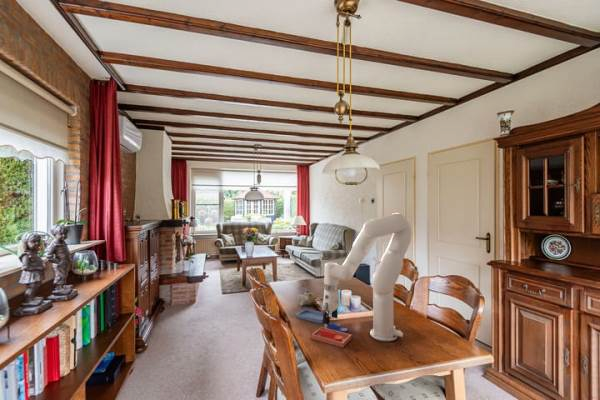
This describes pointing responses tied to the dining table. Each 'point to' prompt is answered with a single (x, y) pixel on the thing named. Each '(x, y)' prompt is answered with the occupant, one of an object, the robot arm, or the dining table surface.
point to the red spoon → (331, 335)
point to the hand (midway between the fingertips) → (330, 320)
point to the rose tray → (317, 336)
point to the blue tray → (311, 315)
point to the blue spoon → (337, 327)
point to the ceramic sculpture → (307, 299)
